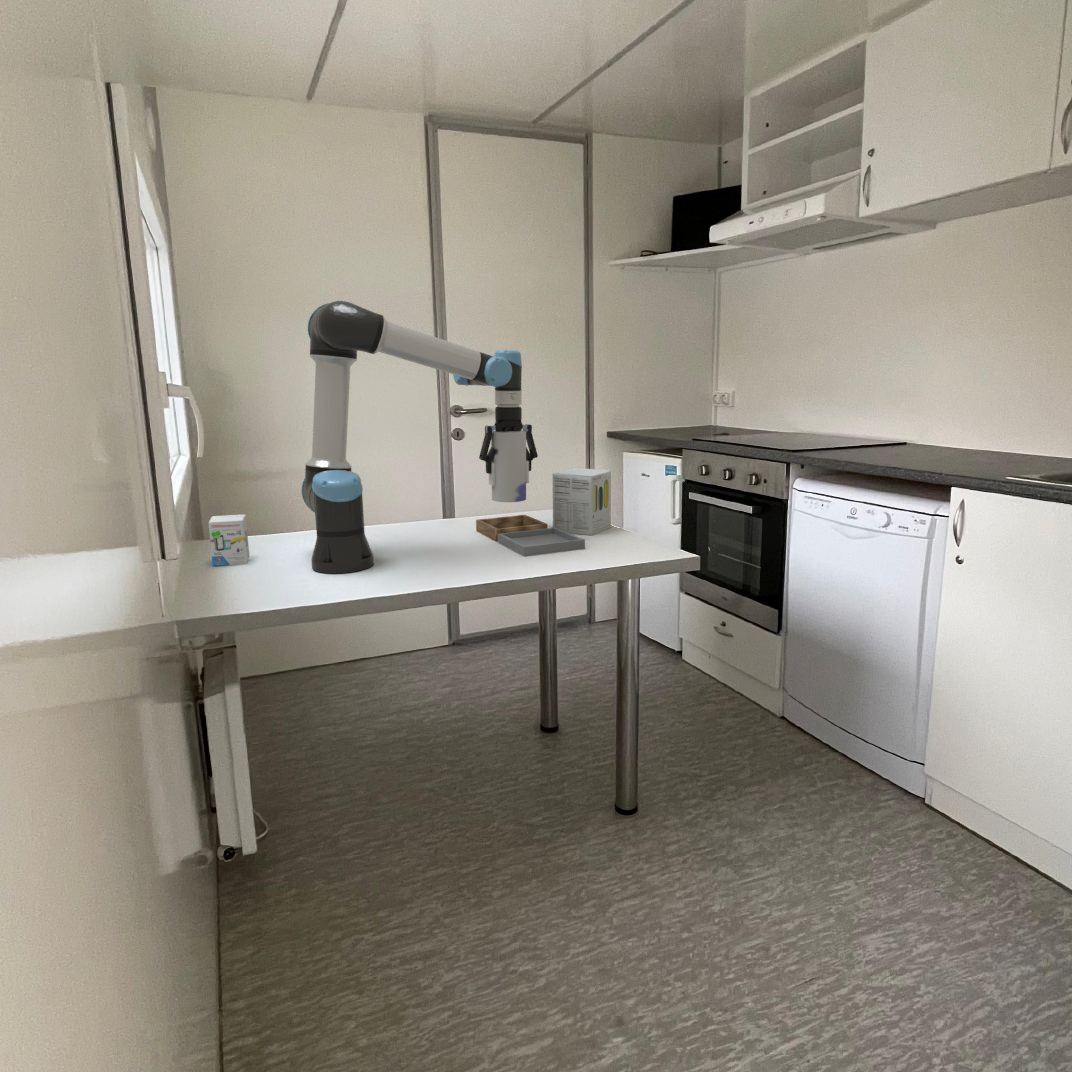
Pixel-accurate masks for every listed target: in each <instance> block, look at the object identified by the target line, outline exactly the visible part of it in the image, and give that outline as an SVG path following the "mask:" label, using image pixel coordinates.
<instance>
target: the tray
mask: <svg viewBox="0 0 1072 1072" xmlns="http://www.w3.org/2000/svg"><path fill="white" fill-rule="evenodd" d="M497 543H498V544H500V545H502V546H503V547H505V548H508V549H509V550H511V551H513V552H515V553H517V554H518V555H519V556H522V557H531V556H532V557H533V556H539V555H546V554H547V555H548V554H553V553H563V552H569V551H577V550H578V551H579V550H586V539H585V538H582V537H580V536H578V535H576V534H574V533H568V532H565V531H563V530H561V529H558V528H556V527H553V526H552V527H548V528H545V529H536V530H527V531H518V532H510V533H501V534H498V542H497Z"/></svg>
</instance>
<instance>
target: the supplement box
mask: <svg viewBox="0 0 1072 1072" xmlns="http://www.w3.org/2000/svg"><path fill="white" fill-rule="evenodd" d="M611 498H612V470H609V469H597V468H596V469H595V468H579V467H578V468H577V467H572V468H568V469H563V470H561V471H557V472H554V473H552V528H553V527H556V528H558V529H561V530H563V531H565V532H568V533H570V534H574V535H576V534H577V535H586V536H592V535H596V534H598V533H600V532H602V531H605V530H607V529H609V528H611V527H612V522H611V521H612V520H611V519H612V512H611V511H612V503H611V502H612V501H611V500H612V499H611Z"/></svg>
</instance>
